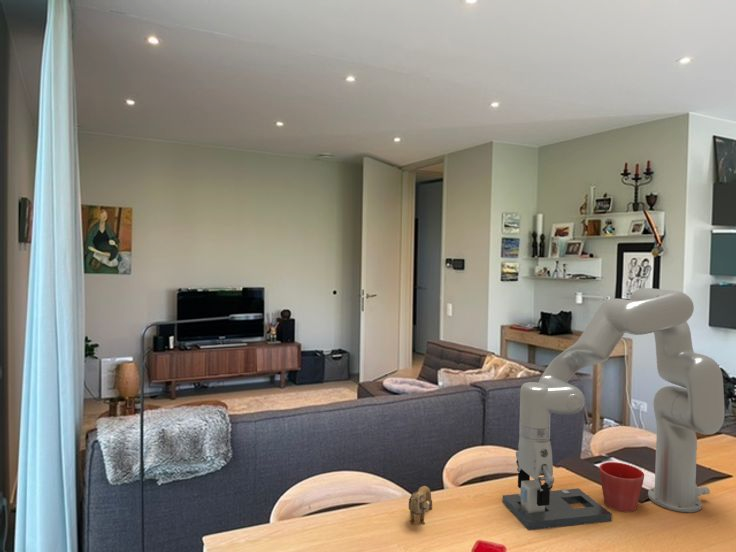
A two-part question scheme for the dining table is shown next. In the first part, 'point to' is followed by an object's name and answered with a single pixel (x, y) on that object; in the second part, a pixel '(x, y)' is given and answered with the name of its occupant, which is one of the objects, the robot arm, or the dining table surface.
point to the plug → (530, 497)
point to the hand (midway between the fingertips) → (533, 495)
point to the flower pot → (621, 485)
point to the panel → (559, 510)
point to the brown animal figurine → (420, 503)
